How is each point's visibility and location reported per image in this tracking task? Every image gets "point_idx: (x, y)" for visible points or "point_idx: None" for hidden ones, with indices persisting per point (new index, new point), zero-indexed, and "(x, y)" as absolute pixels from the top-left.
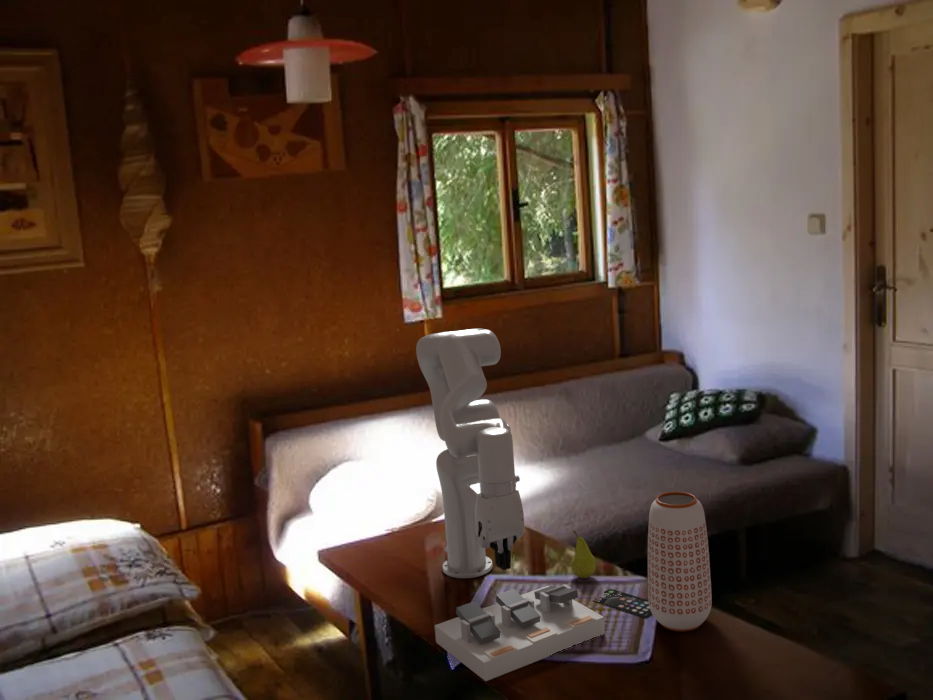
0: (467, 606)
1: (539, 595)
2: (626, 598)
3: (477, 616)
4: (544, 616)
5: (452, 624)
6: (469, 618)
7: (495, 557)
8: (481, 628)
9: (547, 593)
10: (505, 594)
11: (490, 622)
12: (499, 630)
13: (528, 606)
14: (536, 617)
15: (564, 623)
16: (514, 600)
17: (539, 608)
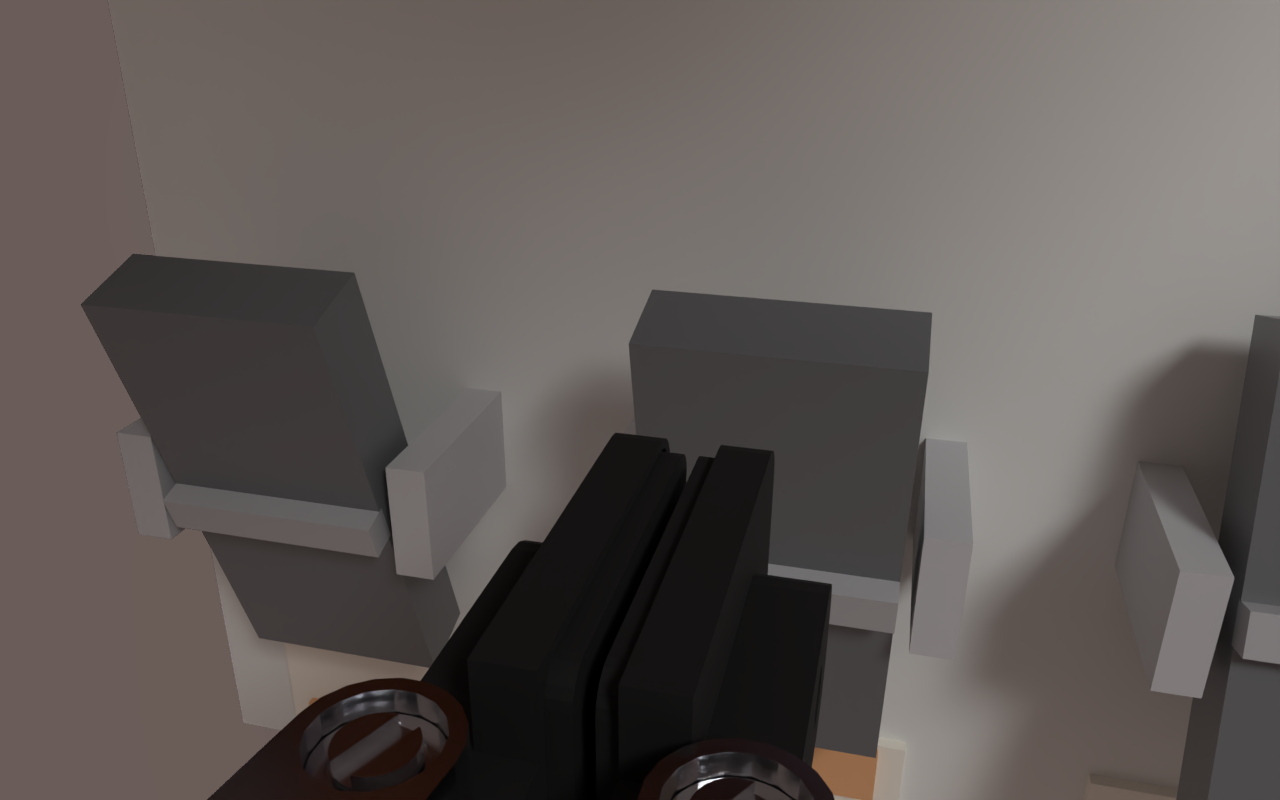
0: (204, 349)
1: (1256, 434)
2: None
3: (261, 517)
4: (1051, 581)
5: (251, 73)
6: (198, 466)
7: (467, 628)
8: (282, 583)
9: (1236, 650)
10: (741, 398)
11: (383, 581)
12: (430, 659)
13: (860, 640)
14: (825, 746)
15: (1080, 785)
16: (779, 515)
17: (1155, 427)
